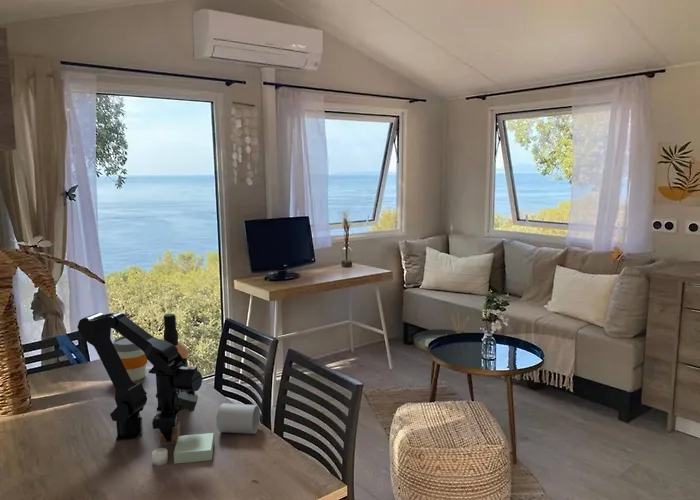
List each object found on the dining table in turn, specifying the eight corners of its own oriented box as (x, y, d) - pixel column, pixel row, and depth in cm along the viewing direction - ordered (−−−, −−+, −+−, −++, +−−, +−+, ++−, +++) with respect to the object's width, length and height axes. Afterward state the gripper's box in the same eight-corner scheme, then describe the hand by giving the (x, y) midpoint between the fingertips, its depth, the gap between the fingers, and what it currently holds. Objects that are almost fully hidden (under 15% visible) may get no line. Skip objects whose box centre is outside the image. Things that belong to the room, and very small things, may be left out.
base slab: (174, 463, 152) (173, 453, 152) (179, 445, 162) (178, 436, 162) (211, 459, 154) (211, 449, 153) (214, 442, 164) (213, 432, 163)
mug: (214, 431, 165) (250, 433, 163) (218, 401, 168) (253, 403, 166) (227, 432, 176) (261, 434, 175) (231, 405, 179) (264, 406, 177)
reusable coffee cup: (132, 385, 207) (129, 346, 205) (108, 379, 212) (105, 342, 210) (157, 373, 218) (154, 336, 216) (133, 368, 224) (130, 333, 221)
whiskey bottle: (193, 407, 187) (187, 316, 182) (162, 414, 183) (155, 320, 178) (187, 396, 196) (181, 309, 191) (158, 402, 192) (151, 312, 187)
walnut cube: (160, 444, 163) (159, 429, 162) (163, 436, 167) (162, 421, 167) (178, 443, 163) (177, 427, 163) (180, 435, 168) (179, 419, 168)
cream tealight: (151, 466, 151) (150, 456, 151) (154, 458, 155) (153, 448, 155) (166, 464, 152) (166, 454, 151) (169, 457, 156) (168, 447, 155)
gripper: (191, 398, 155) (194, 449, 157) (198, 373, 173) (201, 420, 176) (150, 401, 153) (154, 453, 156) (161, 376, 171) (164, 423, 174)
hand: (170, 436), depth 165 cm, fingers closed on walnut cube, 5 cm apart
